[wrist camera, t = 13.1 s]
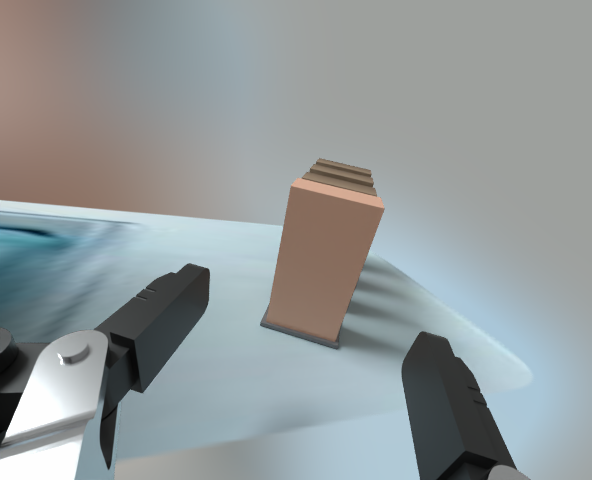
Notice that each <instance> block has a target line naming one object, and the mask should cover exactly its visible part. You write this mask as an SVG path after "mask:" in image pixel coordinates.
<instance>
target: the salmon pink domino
mask: <svg viewBox="0 0 592 480" xmlns="http://www.w3.org/2000/svg"><path fill="white" fill-rule="evenodd" d="M383 212H384V206H383V203H382V200H381V198H380V197H376V196H372V195H368V194H363V193H359V192H355V191H351V190H347V189H343V188H338V187H334V186H330V185H326V184H322V183H317V182H313V181H309V180H305V179H300V178H297V179H296V181H295V182H294V183H293V184H292V185H291V188H290V194H289V199H288V205H287V210H286V216H285V221H284V226H283V232H282V237H281V243H280V248H279V254H278V259H277V265H276V270H275V276H274V281H273V287H272V292H271V298H270V303H269V309H268V314H267V320H266V322H269V323H272V324H276V325H279V326H282V327H286V328H289V329H293V330H296V331H299V332H303V333H306V334H310V335H313V336H316V337H320V338H323V339H327V340H330V341H333V342H335V340H336V338H337V335H338V332H339V330H340V327H341V324H342V322H343V319H344V316H345V313H346V311H347V308H348V305H349V303H350V300H351V297H352V295H353V292H354V289H355V287H356V284H357V281H358V279H359V276H360V273H361V271H362V268H363V265H364V263H365V260H366V257H367V255H368V252H369V249H370V247H371V244H372V241H373V238H374V236H375V233H376V230H377V228H378V225H379V222H380V220H381V217H382V214H383Z"/></svg>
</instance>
